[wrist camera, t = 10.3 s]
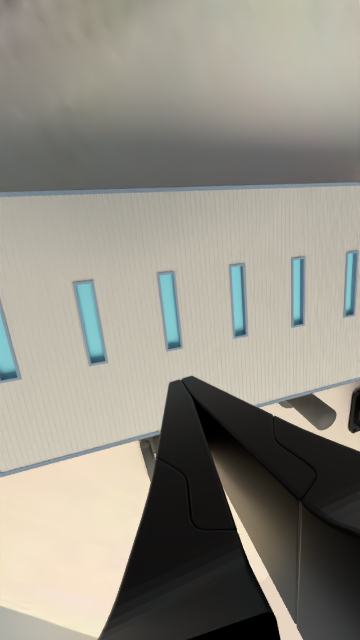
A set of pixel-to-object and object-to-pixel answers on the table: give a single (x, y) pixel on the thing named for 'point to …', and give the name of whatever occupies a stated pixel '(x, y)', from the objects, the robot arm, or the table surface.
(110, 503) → the table surface
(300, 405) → the cord posts
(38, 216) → the grey slotted box
